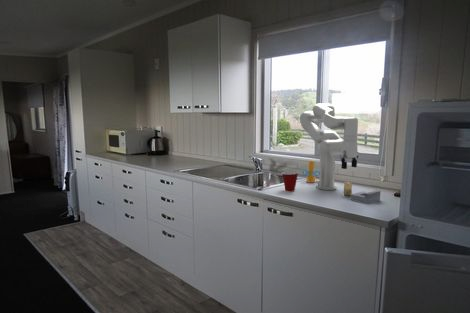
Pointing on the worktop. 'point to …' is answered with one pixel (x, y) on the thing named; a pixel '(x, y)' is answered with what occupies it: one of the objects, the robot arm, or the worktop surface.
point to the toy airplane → (311, 172)
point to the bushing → (347, 189)
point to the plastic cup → (290, 180)
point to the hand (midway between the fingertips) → (349, 167)
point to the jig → (366, 196)
